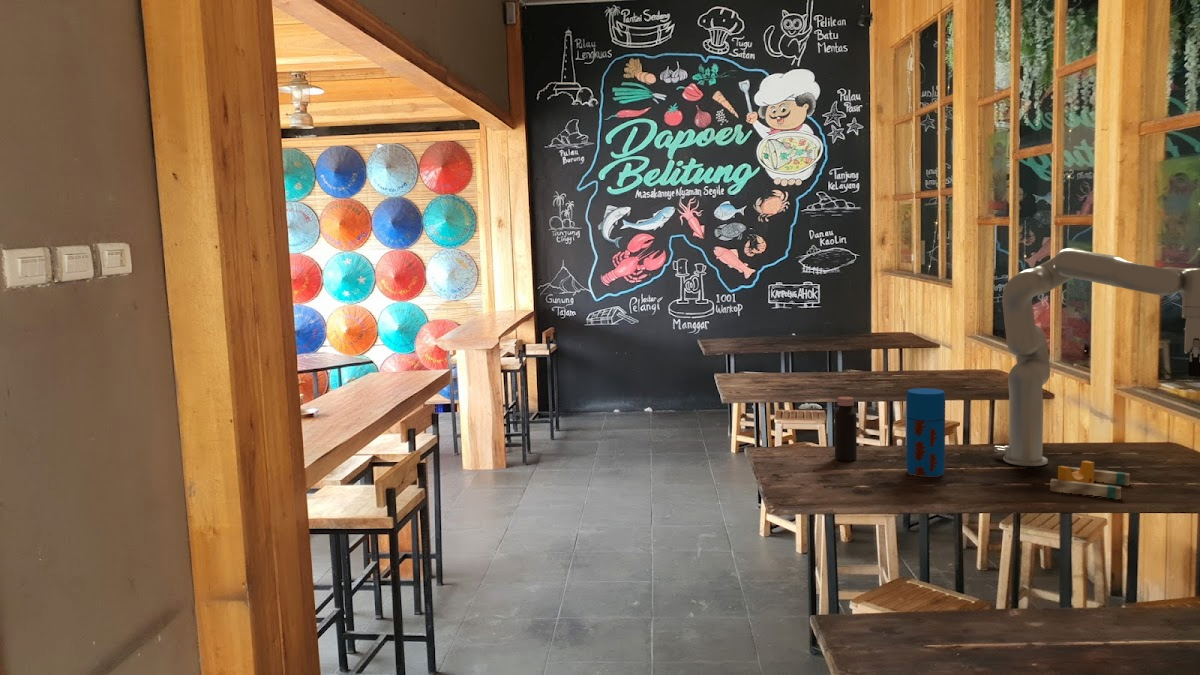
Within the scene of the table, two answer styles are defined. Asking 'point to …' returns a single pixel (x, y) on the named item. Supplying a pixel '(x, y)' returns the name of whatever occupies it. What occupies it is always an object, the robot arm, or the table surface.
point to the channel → (1091, 488)
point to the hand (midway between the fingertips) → (1195, 373)
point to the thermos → (926, 431)
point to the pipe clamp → (1078, 473)
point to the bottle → (845, 430)
